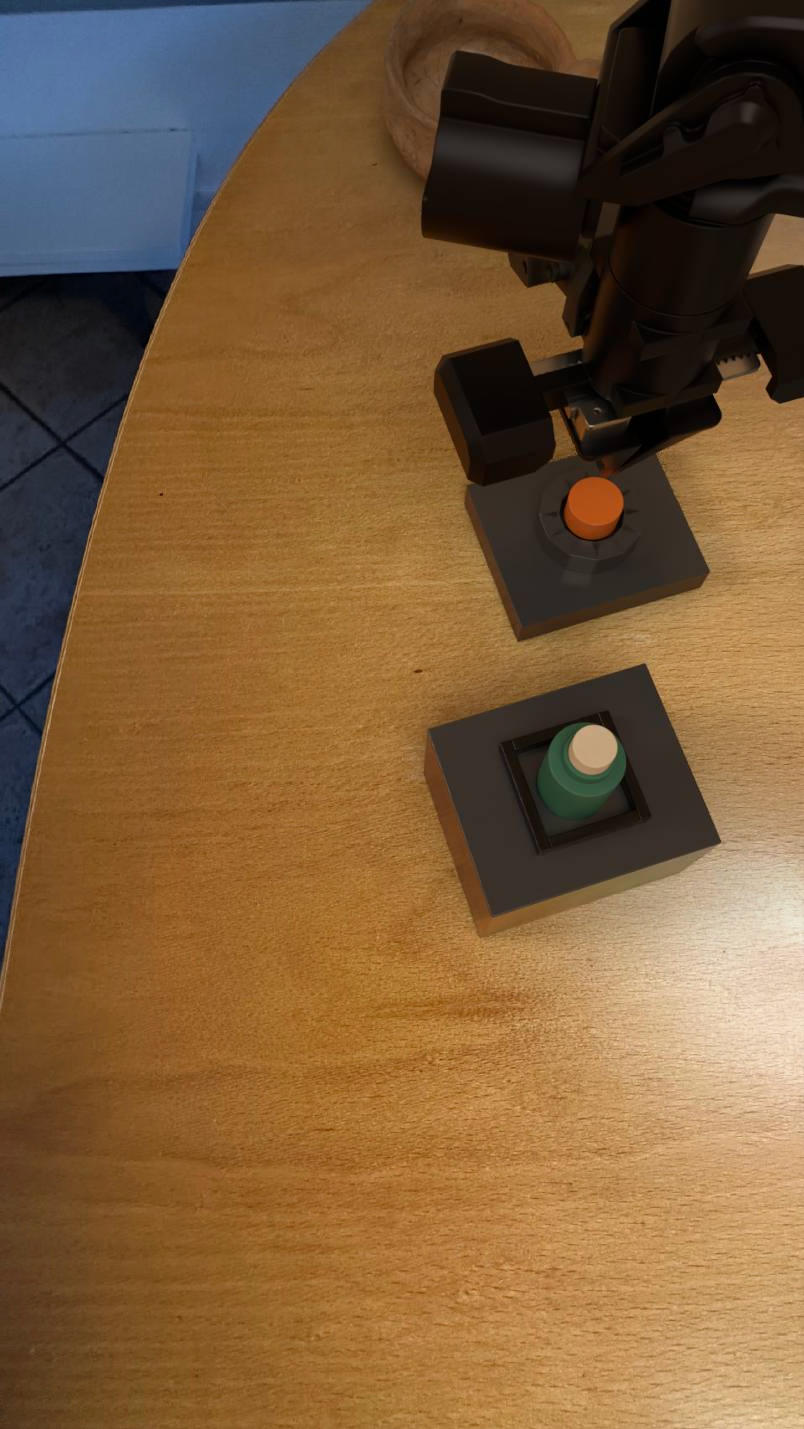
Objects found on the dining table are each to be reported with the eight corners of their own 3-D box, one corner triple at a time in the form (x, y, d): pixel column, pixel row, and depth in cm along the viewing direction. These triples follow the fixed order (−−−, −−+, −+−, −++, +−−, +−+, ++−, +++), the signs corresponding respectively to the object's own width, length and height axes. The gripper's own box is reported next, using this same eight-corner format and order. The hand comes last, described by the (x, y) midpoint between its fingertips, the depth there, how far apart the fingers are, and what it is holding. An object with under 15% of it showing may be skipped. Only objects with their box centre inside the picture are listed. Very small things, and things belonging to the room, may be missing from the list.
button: (606, 486, 63) (611, 470, 62) (625, 531, 62) (632, 516, 61) (555, 500, 63) (560, 485, 61) (575, 546, 62) (580, 531, 60)
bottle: (592, 741, 54) (617, 697, 47) (619, 807, 52) (648, 771, 46) (525, 762, 53) (542, 720, 47) (550, 829, 52) (571, 795, 46)
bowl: (646, 72, 77) (675, -31, 67) (610, 258, 77) (634, 181, 67) (406, 33, 78) (400, -75, 68) (369, 216, 77) (357, 134, 67)
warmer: (615, 712, 63) (650, 654, 54) (681, 872, 59) (728, 838, 51) (422, 772, 61) (427, 722, 53) (479, 938, 58) (493, 914, 50)
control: (639, 454, 68) (654, 417, 65) (700, 587, 65) (719, 557, 61) (464, 503, 67) (468, 469, 63) (517, 642, 64) (525, 614, 60)
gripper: (803, 67, 46) (704, 311, 61) (399, 165, 44) (397, 393, 59) (919, 262, 43) (785, 471, 58) (486, 378, 41) (461, 563, 56)
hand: (605, 468), depth 58 cm, fingers closed
